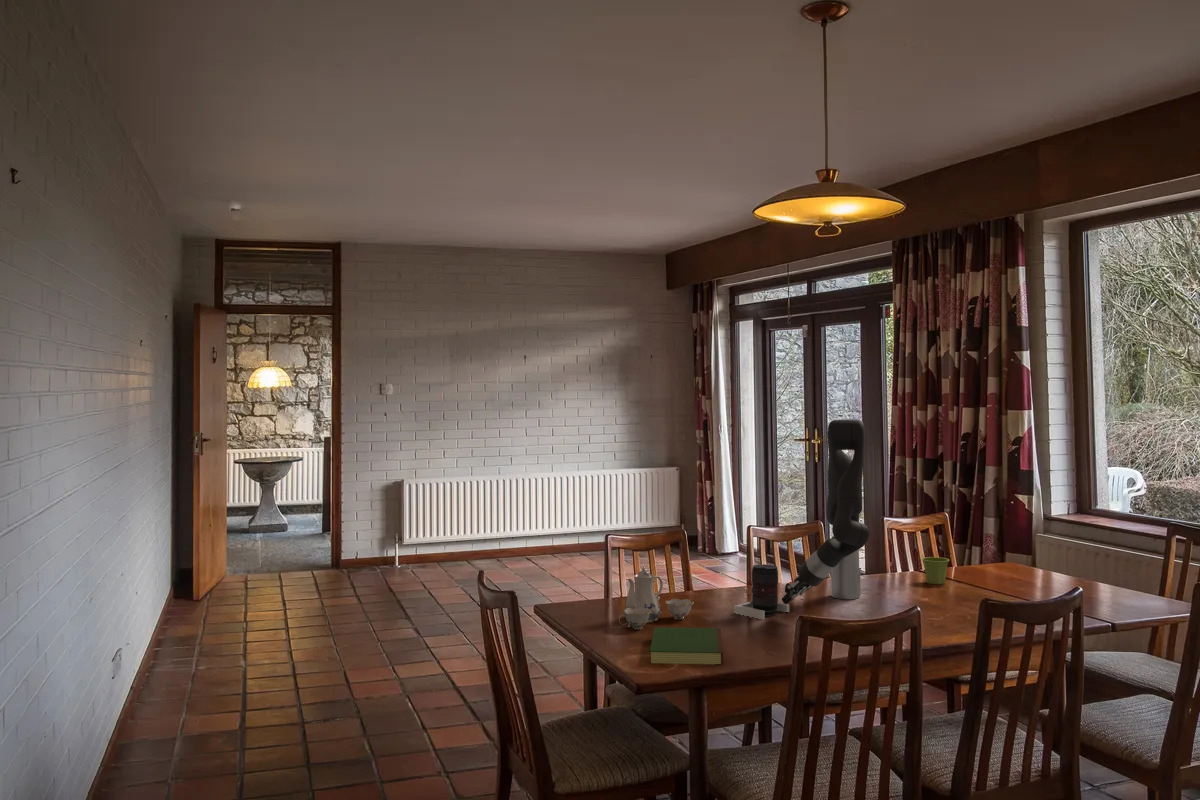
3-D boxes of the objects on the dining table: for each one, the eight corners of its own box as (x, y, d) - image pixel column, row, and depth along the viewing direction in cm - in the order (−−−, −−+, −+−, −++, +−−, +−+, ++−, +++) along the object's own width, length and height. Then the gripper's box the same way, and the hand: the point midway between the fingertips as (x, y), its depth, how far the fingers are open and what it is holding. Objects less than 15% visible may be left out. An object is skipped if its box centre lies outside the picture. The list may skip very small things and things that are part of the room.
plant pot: (916, 581, 339) (916, 557, 338) (939, 579, 341) (939, 556, 341) (931, 586, 329) (931, 562, 329) (954, 584, 332) (954, 560, 332)
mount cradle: (761, 606, 302) (761, 596, 302) (789, 612, 294) (789, 602, 294) (734, 613, 293) (734, 603, 293) (761, 619, 285) (761, 609, 285)
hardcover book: (723, 666, 239) (722, 652, 238) (650, 665, 241) (649, 651, 240) (720, 640, 263) (720, 627, 263) (654, 639, 265) (654, 626, 265)
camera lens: (775, 617, 287) (775, 569, 287) (749, 615, 290) (749, 567, 290) (780, 611, 294) (780, 564, 294) (755, 609, 297) (754, 563, 297)
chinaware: (638, 640, 269) (642, 584, 268) (598, 624, 281) (601, 570, 280) (700, 622, 289) (703, 570, 288) (660, 608, 301) (663, 558, 299)
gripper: (823, 554, 283) (790, 588, 293) (796, 560, 275) (764, 595, 284) (838, 574, 280) (804, 608, 289) (811, 580, 271) (778, 615, 280)
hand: (784, 601), depth 286 cm, fingers closed
